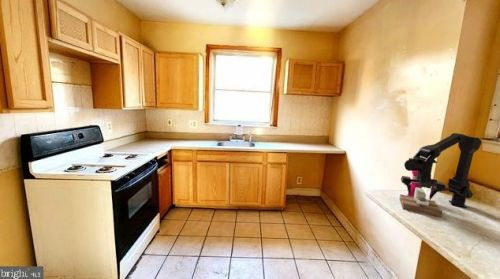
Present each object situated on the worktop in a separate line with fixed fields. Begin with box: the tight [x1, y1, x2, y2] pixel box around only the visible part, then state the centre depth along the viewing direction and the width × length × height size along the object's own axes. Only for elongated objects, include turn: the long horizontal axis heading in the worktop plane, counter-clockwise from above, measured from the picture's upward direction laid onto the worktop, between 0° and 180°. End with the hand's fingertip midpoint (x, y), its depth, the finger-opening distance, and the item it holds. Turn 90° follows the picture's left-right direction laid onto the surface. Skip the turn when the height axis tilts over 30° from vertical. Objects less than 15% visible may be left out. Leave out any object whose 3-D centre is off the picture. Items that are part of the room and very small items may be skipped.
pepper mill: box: [406, 171, 423, 197], centre depth 130 cm, size 7×7×20 cm
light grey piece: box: [414, 187, 429, 206], centre depth 118 cm, size 14×4×6 cm, turn 152°
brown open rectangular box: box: [399, 194, 443, 218], centre depth 118 cm, size 14×16×8 cm
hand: (419, 197), depth 120 cm, fingers open, 9 cm apart
